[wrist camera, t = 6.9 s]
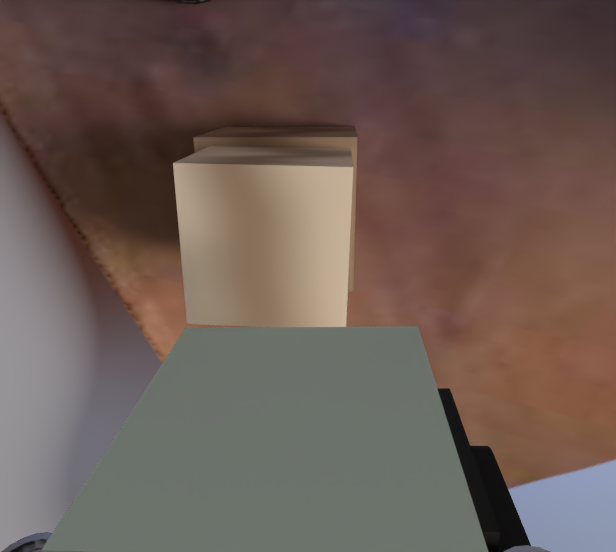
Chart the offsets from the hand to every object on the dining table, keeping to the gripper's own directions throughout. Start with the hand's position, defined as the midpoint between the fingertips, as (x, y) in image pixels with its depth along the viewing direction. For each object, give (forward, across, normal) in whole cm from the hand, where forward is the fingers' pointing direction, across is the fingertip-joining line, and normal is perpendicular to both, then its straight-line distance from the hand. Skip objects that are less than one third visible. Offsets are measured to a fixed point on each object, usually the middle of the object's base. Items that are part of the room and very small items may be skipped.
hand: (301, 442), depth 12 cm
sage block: (+1, 0, 0) cm, 1 cm away
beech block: (+12, +2, -3) cm, 12 cm away
